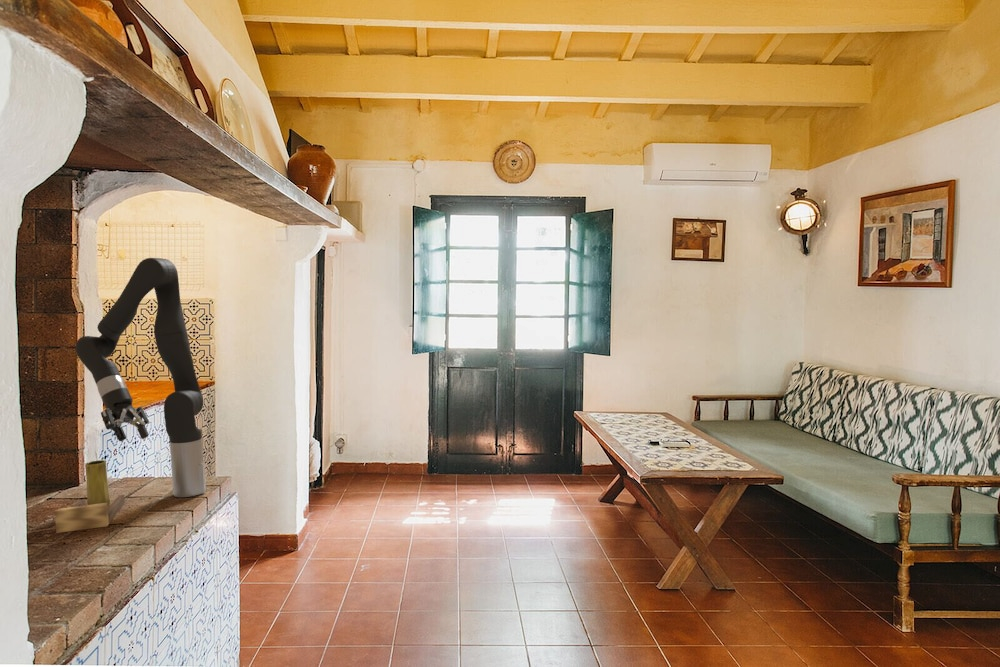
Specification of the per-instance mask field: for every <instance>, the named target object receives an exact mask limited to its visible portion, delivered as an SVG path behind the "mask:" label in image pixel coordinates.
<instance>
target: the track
mask: <svg viewBox="0 0 1000 667" xmlns="http://www.w3.org/2000/svg"><path fill="white" fill-rule="evenodd" d="M125 502H126V501H125V494H118V495H117V497H116V498H114V500H113V501H112V503H110V504H111V505H110V507H109V508H108V505H107V503H101V504H93V505H88V504H87V505H86V499H78V501H77V502H76V503H75V504H74V505H72V506H70V507H61V508H56V509H55V510H54V519H55V520H54V521H55V532H56V534H58V533H66V532H67V533H68V532H72V531H82V530H88V529H95V528H103V527H108V526H109V524H110V523H112V520H113V519H114V518H115V516H116V515H117V513H118V512H119V511H120V510H121V509H122V507H123V506H124V504H126V503H125Z"/></svg>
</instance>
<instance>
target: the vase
mask: <svg viewBox="0 0 1000 667" xmlns="http://www.w3.org/2000/svg"><path fill="white" fill-rule="evenodd" d="M84 468H85V477H86V478H85V479H86V496H87V497H86V500H87V505H93V504H101V503H107V505H108V508H109V507H110V505H111V504H112V503H111V500H110V499H111V498H110V493H109V492H110V490H109V482H108V481H109V480H108V470H107V461H106V460H105V459H103V460H102V459H101V460H98V459H97V460H92V461H88V462H86V463H84Z"/></svg>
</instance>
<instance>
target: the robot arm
mask: <svg viewBox="0 0 1000 667" xmlns="http://www.w3.org/2000/svg"><path fill="white" fill-rule="evenodd" d="M179 284H180V282H179V275H178V270H177V267H176V265H175V264H174V263H173V261H171V260H169V259H166V258H159V257H148V258H144V259H142V260H141V261H140V262H139V264H138V265H137V266H136V268H135V269H134V271H133V273H132V275H131V277H130V278H129V281H128V282H127V284H126V285H125V287H124V289H123V290H122V292H121V293H120V296H118V299H117V300H116V301H115V302H114V304H113V305H112V307H111V308H110V309H109V310H108V311H107V312H106V314H105V315H104V316H103V318H102V319H101V320H100V321H99V323H98V324H97V331H98V332H99V334H101V335H100V336H91V335H84V336H81V337H80V338H78V340H77V341H76V343H75V348H74V349H75V353H76V356H77V357H78V358H79V360H80V361H81V362H82V364H83V365H84V367H85V368H86V369H87V370H88V371H89V372H90V373H91V375H92V378H93V380H94V382H95V384H96V387H97V391H98V394H99V396H100V399H101V401H102V404H103V406H104V408H105V409H103V411H101V412H100V415H101V419H102V420H103V424H104V426H105V429H107V430H111V431H113V433H114V434H115V436H116V439H117V440H118V441H119V442H123V441H125V440H126V439H127V435H126V433H125V430H124V428H123V427H122V424H124V423H126V424H129V425H130V426H131V425H132V426H134V427H136V428H137V430H136V431H137V432H138V434H139V437H140V438H141V440H144V439H146V438H148V437H149V432H148V430H147V428H146V425H147V424H149V423H150V420H149V419H148V416H147V414H146V412H145V411H144V408H143V407H142V406H139V407H136V408H135V407H134V406H133V405H132V404H133V401H134V400H133V398H132V395H131V393H130V390H129V389H128V386H127V385H126V382H125V380H124V378H123V377H122V375H121V373H120V371H119V369H118V366H117V365H116V363H115V362H114V361H112V360H109V359H107V358H109V357H110V356H112V355H113V353H114V352H115V350H116V348H117V346H118V344H119V341H120V337H121V336H122V334H124V332H125V331H126V329H128V327H129V326H130V324H132V322H133V320H134V318H135V317H136V314H137V311H138V308H139V306H140V304H141V302H142V300H143V299H144V298H145V297H146V295H148V293H150V292H151V291H152V290H153V289H154V292H155V296H156V300H157V301H156V302H157V307H156V308H157V311H156V314H155V320H154V326H153V333H154V340H155V343H156V344H155V345H156V348H157V352H158V354H159V356H160V358H161V360H162V361H163V363H164V365H165V366H166V368H167V369H168V370H169V372H170V374H171V378H172V381H173V386H174V387H173V388H174V392H171V393H170V394H168V395H167V397H166V398H165V400H164V402H163V403H164V404H163V415H164V424H165V431H166V433H167V435H168V439H169V450H170V462H171V463H170V464H171V477H172V493H173V497H175V498H187V497H188V498H189V497H194V496H198V495H202V494H203V495H204V494H205V493H206V490H207V482H206V466H205V465H206V464H205V459H204V448H203V435H202V430H201V428H198V427H197V424H196V418H195V417H196V415H197V416H198V414H199V413H200V412H201V411H202V410H203V407H204V396H203V394H202V393H203V392H202V390H201V387H200V384H199V380H198V378H197V374H196V370H195V365H194V361H193V357H192V356H193V355H192V352H191V346H190V340H189V336H188V334H189V333H188V330H187V327H186V321H185V317H184V310H183V306H182V302H181V294H180V293H181V292H180V285H179Z"/></svg>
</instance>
